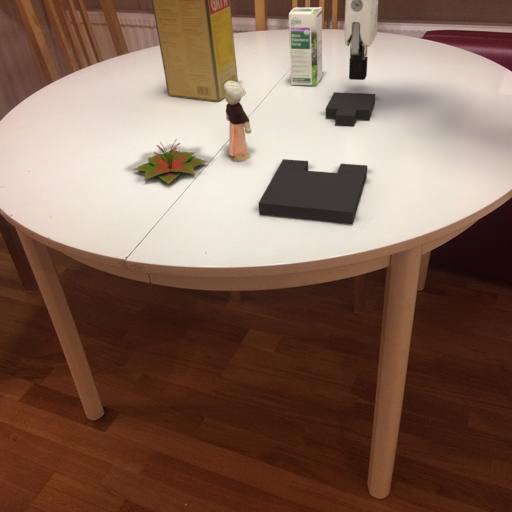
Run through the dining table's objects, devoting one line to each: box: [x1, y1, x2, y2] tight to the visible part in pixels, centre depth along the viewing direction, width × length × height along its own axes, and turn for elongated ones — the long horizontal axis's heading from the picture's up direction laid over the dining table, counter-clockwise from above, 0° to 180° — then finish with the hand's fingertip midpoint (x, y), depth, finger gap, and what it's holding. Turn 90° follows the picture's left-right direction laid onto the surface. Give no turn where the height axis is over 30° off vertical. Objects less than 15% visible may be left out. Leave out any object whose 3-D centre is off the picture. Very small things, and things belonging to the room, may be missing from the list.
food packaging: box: [151, 0, 239, 103], centre depth 106 cm, size 13×9×25 cm
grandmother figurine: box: [224, 81, 252, 162], centre depth 84 cm, size 8×4×13 cm, turn 40°
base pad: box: [257, 158, 368, 225], centre depth 76 cm, size 13×13×2 cm
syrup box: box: [288, 6, 323, 87], centre depth 109 cm, size 6×6×14 cm
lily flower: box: [131, 138, 210, 185], centre depth 85 cm, size 12×12×5 cm
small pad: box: [325, 91, 376, 127], centre depth 97 cm, size 8×11×2 cm
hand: (357, 78), depth 103 cm, fingers closed
